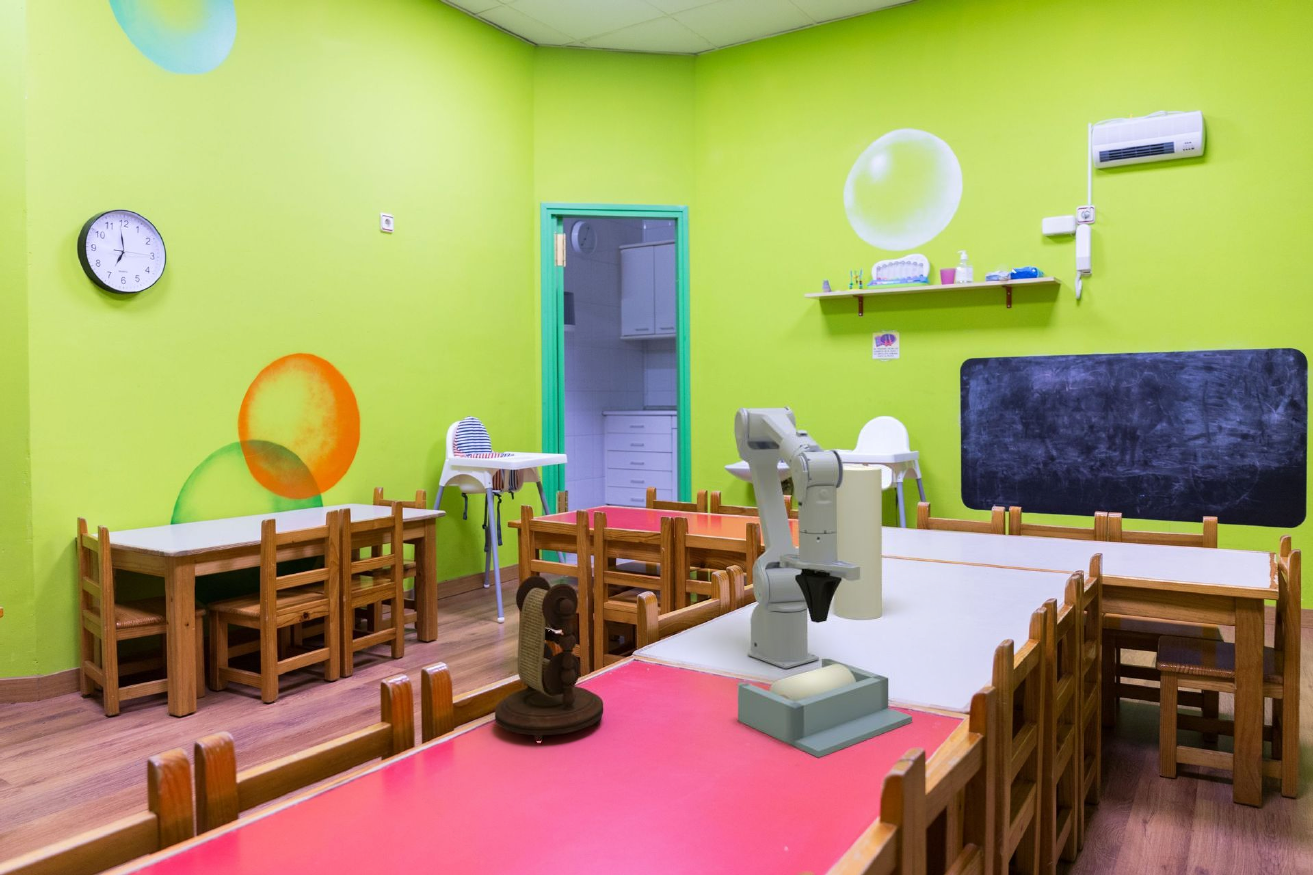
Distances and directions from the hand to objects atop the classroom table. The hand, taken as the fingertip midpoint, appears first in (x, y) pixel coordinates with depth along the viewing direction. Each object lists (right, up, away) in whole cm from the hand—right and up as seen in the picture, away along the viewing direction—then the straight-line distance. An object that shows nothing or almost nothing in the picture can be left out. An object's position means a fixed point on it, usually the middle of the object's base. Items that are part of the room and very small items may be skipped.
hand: (819, 620), depth 127 cm
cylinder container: (+16, -8, +43) cm, 47 cm away
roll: (-3, -8, -11) cm, 14 cm away
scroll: (-39, -12, -11) cm, 42 cm away
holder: (-2, -11, -12) cm, 16 cm away
